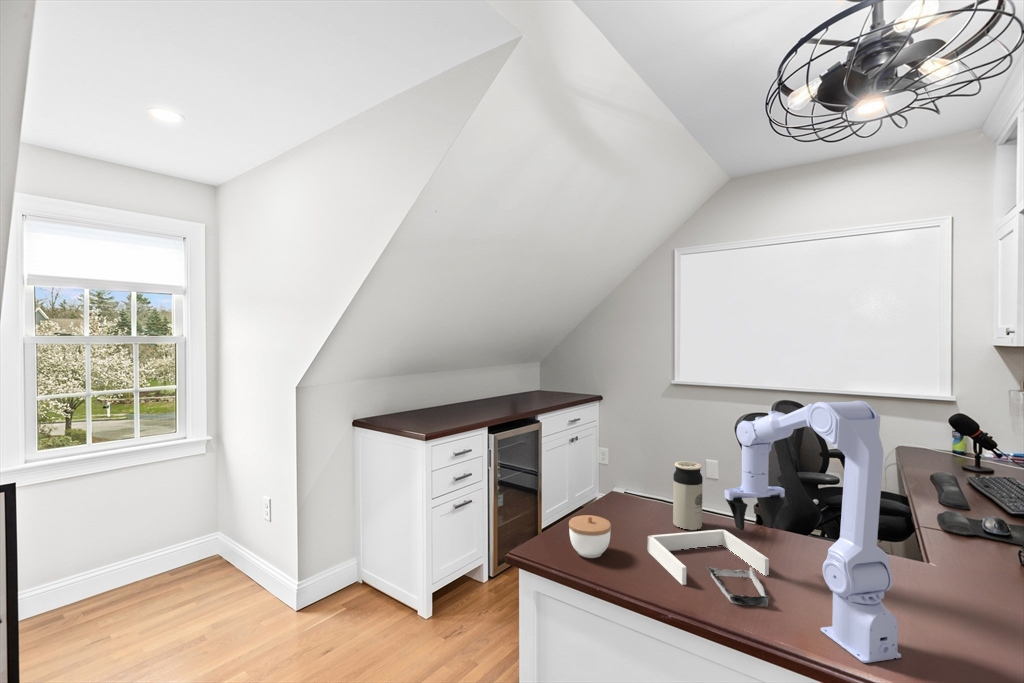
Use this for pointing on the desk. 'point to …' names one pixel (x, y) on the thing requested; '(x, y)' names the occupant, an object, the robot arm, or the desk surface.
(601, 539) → the lidded jar
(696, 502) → the travel mug
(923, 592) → the desk surface
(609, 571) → the desk surface
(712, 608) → the desk surface
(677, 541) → the box
